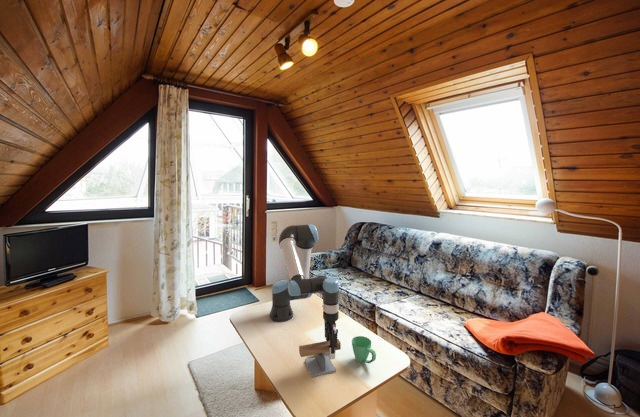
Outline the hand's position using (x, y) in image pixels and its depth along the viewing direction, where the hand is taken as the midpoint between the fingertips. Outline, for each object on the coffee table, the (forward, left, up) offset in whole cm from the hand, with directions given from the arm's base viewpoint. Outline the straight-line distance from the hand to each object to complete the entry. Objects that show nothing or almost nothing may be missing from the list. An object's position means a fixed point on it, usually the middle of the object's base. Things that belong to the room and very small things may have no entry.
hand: (330, 355), depth 142 cm
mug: (+4, +16, -5) cm, 18 cm away
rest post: (-9, 0, -4) cm, 10 cm away
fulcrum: (0, -6, -4) cm, 7 cm away
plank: (0, -6, +4) cm, 7 cm away
